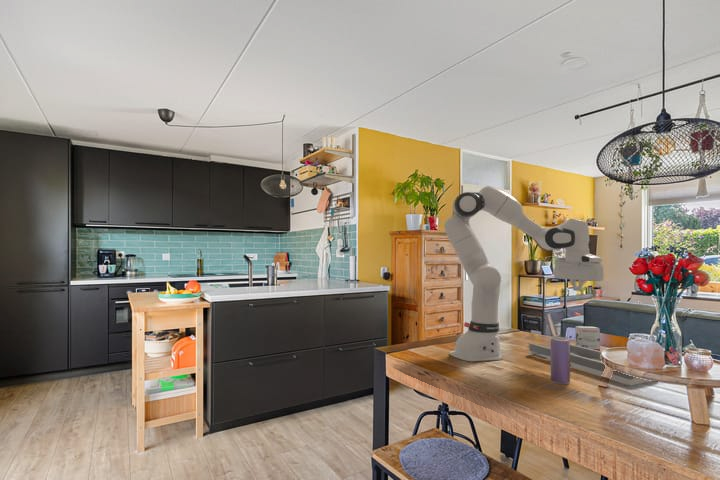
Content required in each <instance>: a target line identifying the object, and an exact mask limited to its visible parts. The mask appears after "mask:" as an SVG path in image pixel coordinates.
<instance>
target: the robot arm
mask: <svg viewBox="0 0 720 480" xmlns="http://www.w3.org/2000/svg"><path fill="white" fill-rule="evenodd" d="M480 211H483V212H486V213H488V214H490V215H491V216H493V217H495V218H496V219H498V220H500V221H502V222H504V223H507V224H508V225H511V226H513V227H515V228H516V229H518V230H519V231H521V232H523V233H524V234H526V235H527V236H529V237H530V238H531V239H532V240H533V241H534V242H535V244H536V245H537V246H538V247H539V248H540V249H541V250H543V251H548V252H550V251H555V250H561V249H565V250H564V251H565V252H564V253H565V256H564V257H558V258H556V259H555V261H554V264H555V265H554V269H553V277H554V278H555V279H562V280H569V283H570V284H571V286H572V291H575V292H582V290H583V287H584V285H585V283H586V281H587V282H602V281H603V280H604V278H605V277H604V267H603V264H602V262H603V259H602V257H600V256H598V255H594V254H592V253H590V248H589V243H590V230H589V228H590V227H589V225H588V223H587V222H586V221H585V220H582V219H576V218H571V219H567V220H566V221H565V222H562V223H560V224H558V225H555V226H552V227H550V228H549V227H543V226H542V225H540V224H538V223H537V222H535V221H534V220H532V219H530V218H529V217H528V216H527V215H526V214H525V213H524V210H523V205H522V203H520V202H519V201H518V200H517V199H516V198H515V197H513V196H512V195H510V194H509V193H507V192H505V191H503V190H501V189H498V188H496V187H494V186H490V185H486V186H484V187H482V188H481V189H480V190H479V192H473V191H465V192H462V193H460V194H459V195H457V196H456V197H455V199H454V200H453V203H452V216H450V217H449V218H447V219H446V221H445V222H444V224H443V225H444V226H443V228H444V230H445V233H446V236H447V238H448V240H449V243H450V244H451V247H452V249H453V250H454V252H455V253H456V255H457V257H458V259H459V261H460V263H461V264H462V267H463V269H464V271H465V273H466V275H467V276H468V278H469V279H468V280H469V281H470V282H471V284H472V285H473V288H472V297H471V298H472V299H471V319H470V321H469V322H464V323H463V327H465V328H467V331H465V332H464V334H462V335H461V336H460V337H458V338H457V340H456V341H455V342H456V343H455V348H454V350H450V351H449V355H450V356H451V357H454V358H456V359H459V360H462V361H466V362H481V361H482V362H484V361H500V360H502V357H503V354H502V351H501V344H500V337H499V332H500V323H499V298H500V292H501V283H502V276H501V274H500V272H499V270H498V269H497V268H496V267H494V266H492V265H491V264H490V261H489V259H488V257H487V255H486V253H485V251H484V248H483V246H482V244H481V242H480V241H479V239H478V237H477V236H476V234H475V232H474V231H473V229H472V227H471V225H470V219H471V218H473V217H475V216H476V214H478V212H480ZM577 284H578V285H577Z"/></svg>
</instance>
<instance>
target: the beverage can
mask: <svg viewBox="0 0 720 480" xmlns="http://www.w3.org/2000/svg"><path fill="white" fill-rule="evenodd" d="M570 344H571V343H570V339H569V338H568V337H565V336H564V337H563V336H551V337H550V348H551V361H550V380H551V381H552V383H555V384H558V385H568V384H570V382H571V366H570Z"/></svg>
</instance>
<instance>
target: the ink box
mask: <svg viewBox="0 0 720 480" xmlns="http://www.w3.org/2000/svg"><path fill="white" fill-rule="evenodd" d="M575 345H576V346H580V347H584V348H588V349H592V350H597V351H601V330H600V328H599V327H595V326H580V325H579V326H575Z"/></svg>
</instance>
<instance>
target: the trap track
mask: <svg viewBox="0 0 720 480" xmlns="http://www.w3.org/2000/svg"><path fill="white" fill-rule="evenodd" d="M528 344H529V345H528V350H529V352H528V355H529V356H535V357H537V358H538V357H539V358H542V359H545V360H546V361H549V362H551V347H547V346H544V345H540V344H537V343H533V342H530V343H528ZM601 352H602V351H601V350H600V351H597V350H592V349H588V348H584V347H580V346H576V344H572V343H570V369H575V370H578V371H581V372H585V373H588V374H591V375H594V376H597V377H600V378H602V377H601V375H602V374H603V371H604V369H605V365H604V364H603V363H602V362H601V359H600V354H601ZM610 381H615V382H617V383H621V384H624V385H627V386H630V387H632V386H635V385H640V384H644V382H646V383H649V382H651V381H649V380H644V379H640V378H636V377H633V376H629V375H626V374H623V373H621V372H618V371H613V374H612V377H611V380H610Z"/></svg>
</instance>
